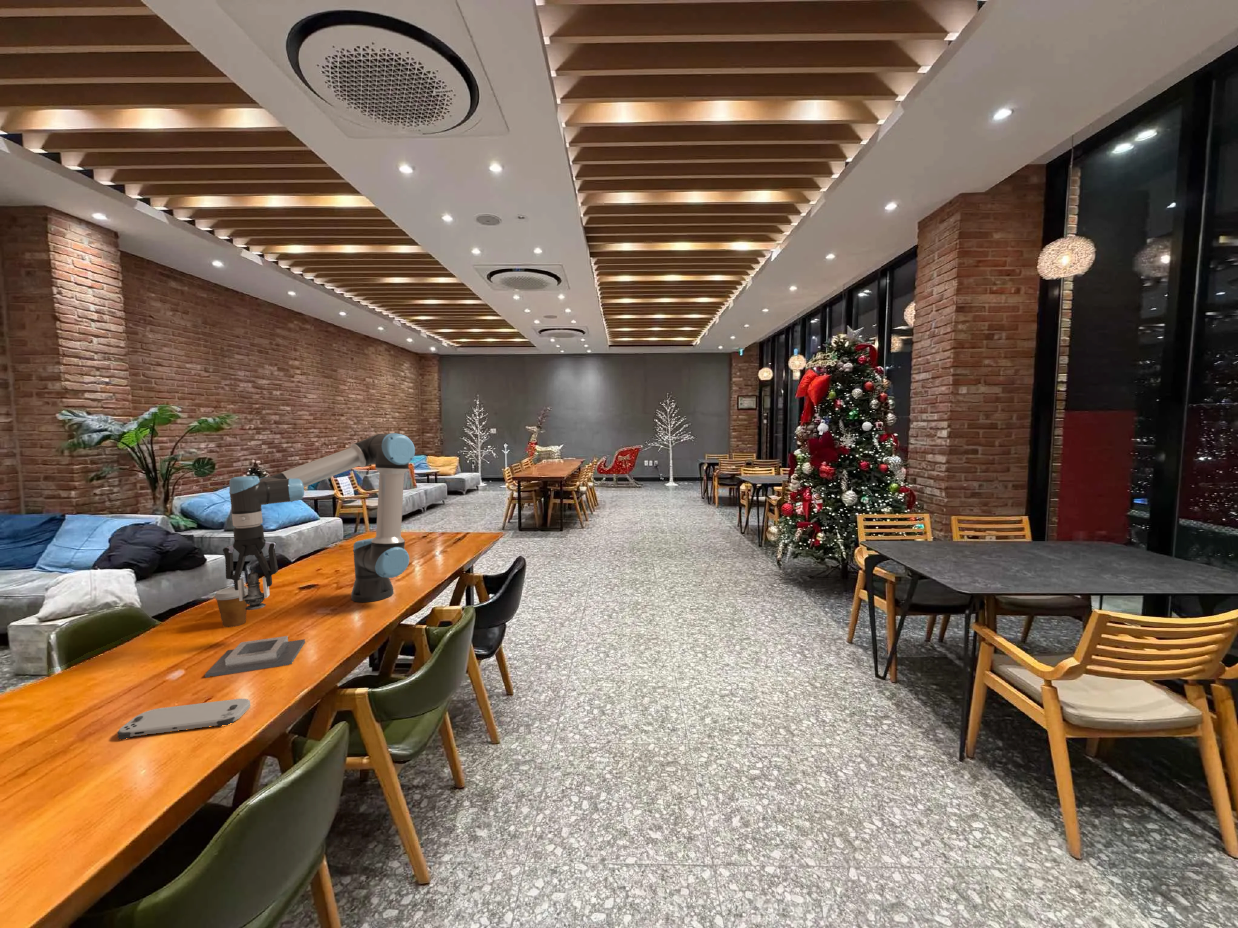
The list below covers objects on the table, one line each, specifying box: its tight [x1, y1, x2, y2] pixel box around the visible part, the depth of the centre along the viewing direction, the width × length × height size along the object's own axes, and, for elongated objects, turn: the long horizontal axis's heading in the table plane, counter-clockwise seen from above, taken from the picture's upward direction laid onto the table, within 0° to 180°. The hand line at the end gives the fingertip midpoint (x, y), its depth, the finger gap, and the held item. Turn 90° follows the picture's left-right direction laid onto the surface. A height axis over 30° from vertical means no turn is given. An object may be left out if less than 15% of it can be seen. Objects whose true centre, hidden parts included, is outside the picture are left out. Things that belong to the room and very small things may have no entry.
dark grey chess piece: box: [243, 569, 266, 611], centre depth 159 cm, size 6×6×12 cm
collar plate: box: [204, 635, 306, 679], centre depth 146 cm, size 20×16×4 cm
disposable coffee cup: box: [214, 585, 248, 628], centre depth 174 cm, size 10×10×12 cm
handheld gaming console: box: [116, 698, 251, 740], centre depth 115 cm, size 23×3×10 cm
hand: (254, 597), depth 159 cm, fingers closed on dark grey chess piece, 6 cm apart
